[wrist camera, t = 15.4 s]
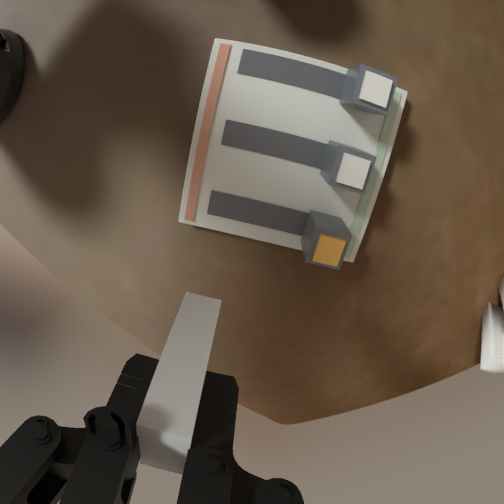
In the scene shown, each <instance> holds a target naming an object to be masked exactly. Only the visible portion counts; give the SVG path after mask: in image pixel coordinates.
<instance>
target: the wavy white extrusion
mask: <svg viewBox="0 0 504 504" xmlns="http://www.w3.org/2000/svg"><path fill="white" fill-rule="evenodd" d="M498 288H499V292H500V296H501V301H502V306H503V308H502V307H499V306H496V305H494V304H492V303H491V302H489V303H488V304H487V306H486V307H485V309H484V311H483V313H482V341H481V362H480V369H481V370H483V371H486V372H491V373H501V372H504V276H503V277H502V279H501V280H500V282H499V285H498Z"/></svg>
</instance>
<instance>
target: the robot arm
mask: <svg viewBox="0 0 504 504" xmlns="http://www.w3.org/2000/svg"><path fill="white" fill-rule="evenodd" d="M23 65H24V57H23V49H22V45H21V42H20V40H19V38H18V36H17V35H16V34H15V33H14V32H12V31H10V30H6V29H0V122H1V121H2V120H3V119H4V118H5V117H6V116H7V114H8V113H9V111H10V110H11V108H12V106H13V104H14V102H15V100H16V97H17V94H18V92H19V88H20V85H21V80H22V75H23ZM221 302H222V300H219V299H215V298H210V297H206V296H202V295H198V294H194V293H190V292H186V294H185V296H184V299H183V301H182V304H181V306H180V309H179V311H178V314H177V316H176V319H175V321H174V324H173V326H172V329H171V331H170V334H169V336H168V339H167V342H166V344H165V347H164V349H163V352H162V355H161V357H160V360H158V359H155V358H151V357H147V356H144V355H141V354H135V355H134V356H133V357H132V358H130V359H129V360H128V361H127V362H126V364H125V366H124V368H123V370H122V372H121V375H120V377H119V379H118V381H117V384H116V385H115V387H114V390H113V392H112V394H111V396H110V398H109V401H108V403H107V405H106V407H105V406H103V407H97V408H94V409H92V410H90V411H88V412H87V414H86V415H85V416H84V418H83V419H84V422H85V425H86V427H85V428H70V427H60V426H58V425H57V424H56V423H55V422H54V420H52V419H50V418H48V417H46V416H39V415H38V416H33V417H30V418H29V419H27V420H26V421H25V422H24V423H23V424H22V425H21V426H20V427H19V428H18V429H17V430H16V431H15V432H14V433H13V434H12V435H11V436H10V437H9V439H8V440H7V441H6V442H5V443H4V444H3V445H2V446H1V447H0V504H57V503H58V501H59V500H60V499H61V500H60V503H59V504H129V503H130V499H131V495H132V492H133V488H134V485H135V481H136V473H137V472H136V469H137V466H138V462H139V459H140V463H141V464H145V465H148V466H152V467H155V468H159V469H163V470H167V471H171V472H175V473H179V474H183V476H182V481H181V485H180V490H179V496H178V500H177V504H304V501H303V498H302V495H301V493H300V491H299V489H298V487H297V486H296V485H294V484H293V483H292V482H290V481H288V480H285V479H283V478H272V479H269V480H264V479H262V478H260V477H257V476H255V475H253V474H250V473H248V472H247V471H245V470H243V469H242V468H241V467H240V466H239V465H238V464H237V462H236V461H235V459H234V456H233V440H234V431H235V420H236V411H237V402H238V393H239V388H238V385H237V383H236V380H235V378H234V377H233V376H228V375H223V374H218V373H214V372H209V371H206V370H207V365H208V360H209V356H210V351H211V347H212V342H213V338H214V333H215V328H216V324H217V319H218V315H219V311H220V306H221Z"/></svg>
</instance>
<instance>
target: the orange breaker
mask: <svg viewBox="0 0 504 504" xmlns="http://www.w3.org/2000/svg"><path fill="white" fill-rule="evenodd" d="M351 238H352V235H351V233H350V231H349V230H348V228H347V226H346V225H345V223H344V221H343V220H342V218H339V217H336V216H332V215H328V214H324V213H321V212H317V211H313V210H310V212H309V215H308V218H307V222H306V225H305V228H304V231H303V235H302V238H301V246H302V251H303V256H304V261H305V262H306V263H311V264H315V265H319V266H324V267H328V268H332V269H336V270H340V268H341V265H342V262H343V260H344V257H345V254H346V252H347V249H348V246H349V244H350V241H351Z"/></svg>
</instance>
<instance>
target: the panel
mask: <svg viewBox="0 0 504 504" xmlns="http://www.w3.org/2000/svg"><path fill="white" fill-rule="evenodd" d="M397 81H398V78H397V77H394V76H392V75H389V74H387V73H384V72H382V71H379V70H377V69H374V68H371V67H369V66H366V65H363V64H359V65H357V66H355V67H353V68H351V69H347V68H344V67H340V66H337V65H334V64H331V63H328V62H324V61H321V60H317V59H314V58H310V57H307V56H303V55H299V54H295V53H291V52H287V51H283V50H278V49H274V48H269V47H264V46H259V45H254V44H249V43H243V42H238V41H231V40H225V39H218V38H215V41H214V44H213V48H212V52H211V56H210V60H209V64H208V69H207V73H206V77H205V81H204V86H203V90H202V94H201V99H200V104H199V108H198V113H197V118H196V123H195V128H194V133H193V138H192V143H191V148H190V154H189V159H188V165H187V170H186V176H185V182H184V188H183V194H182V200H181V207H180V214H179V220H178V222H181V223H186V224H190V225H195V226H199V227H203V228H208V229H212V230H217V231H221V232H225V233H230V234H234V235H238V236H242V237H247V238H251V239H255V240H260V241H264V242H268V243H272V244H277V245H281V246H285V247H289V248H294V249H298V250H302V246H301V238H302V235H303V231H304V228H305V225H306V222H307V218H308V215H309V212H310V210H313V211H317V212H321V213H324V214H328V215H332V216H336V217H339V218H342V220H343V221H344V223H345V225H346V226H347V228H348V230H349V231H350V233H351V235H352V238H351V241H350V244H349V246H348V249H347V252H346V254H345V257H344V261H348V262H352V263H353V262H354V259H355V257H356V254H357V251H358V249H359V246H360V243H361V241H362V238H363V235H364V233H365V230H366V227H367V224H368V222H369V219H370V216H371V213H372V210H373V207H374V204H375V202H376V199H377V196H378V193H379V190H380V187H381V184H382V180H383V177H384V174H385V171H386V168H387V165H388V161H389V158H390V155H391V151H392V148H393V145H394V141H395V138H396V134H397V131H398V127H399V123H400V120H401V116H402V112H403V108H404V104H405V100H406V96H407V91H405V90H402V89H400V88H398V87H396V85H397Z"/></svg>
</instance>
